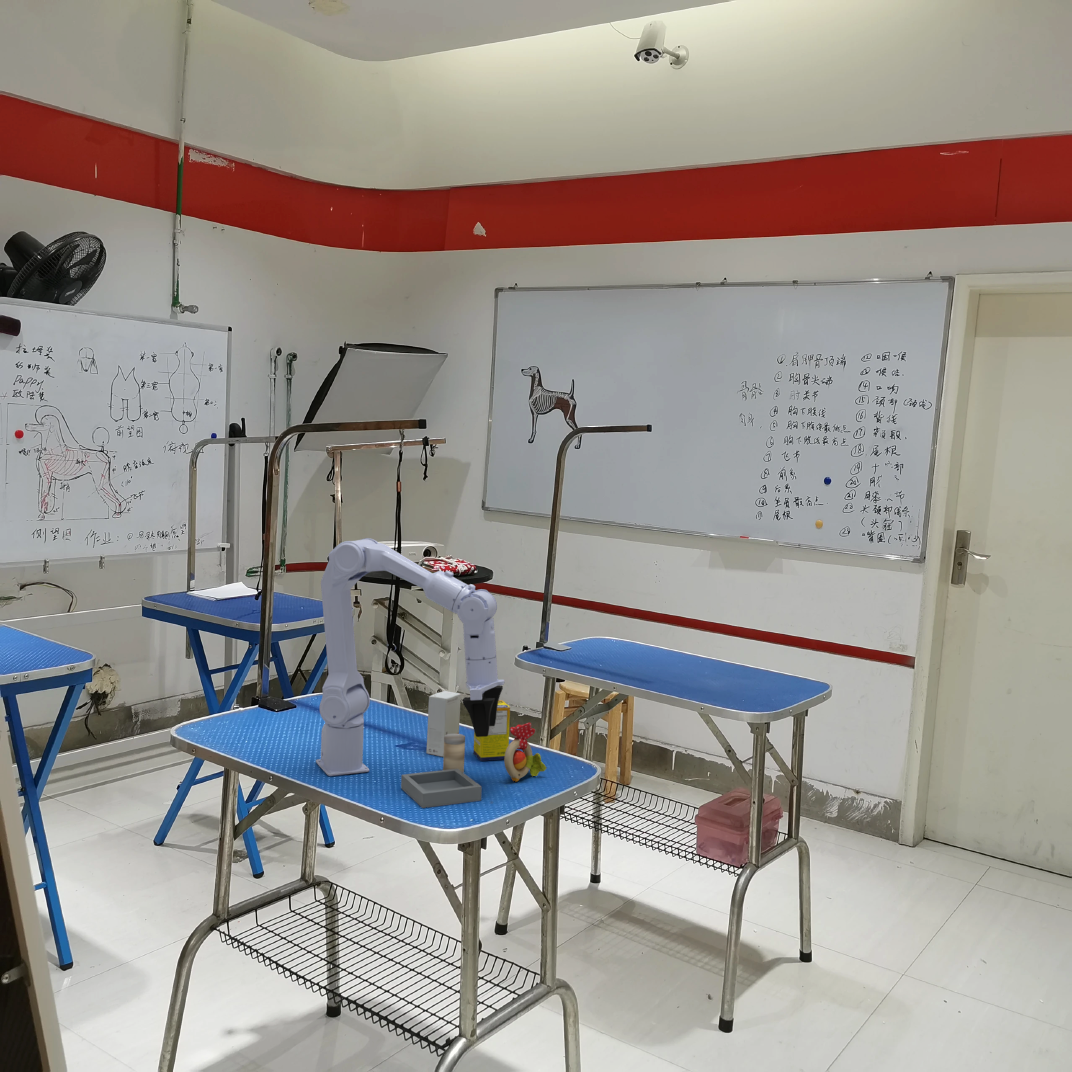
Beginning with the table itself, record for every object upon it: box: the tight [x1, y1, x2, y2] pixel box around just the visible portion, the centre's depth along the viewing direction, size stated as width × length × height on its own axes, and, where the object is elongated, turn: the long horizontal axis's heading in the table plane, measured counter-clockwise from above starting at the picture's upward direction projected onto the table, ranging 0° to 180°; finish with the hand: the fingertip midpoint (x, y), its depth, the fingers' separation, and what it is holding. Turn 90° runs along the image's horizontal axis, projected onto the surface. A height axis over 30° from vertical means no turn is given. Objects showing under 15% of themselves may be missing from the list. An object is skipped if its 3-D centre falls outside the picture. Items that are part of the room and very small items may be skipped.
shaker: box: [442, 733, 466, 774], centre depth 192 cm, size 4×4×7 cm
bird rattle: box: [503, 721, 548, 783], centre depth 190 cm, size 6×11×9 cm
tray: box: [400, 769, 483, 809], centre depth 179 cm, size 11×11×2 cm
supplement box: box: [473, 699, 511, 762], centre depth 203 cm, size 6×6×11 cm
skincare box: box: [426, 690, 462, 758], centre depth 205 cm, size 6×4×12 cm
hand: (485, 731), depth 183 cm, fingers open, 7 cm apart
